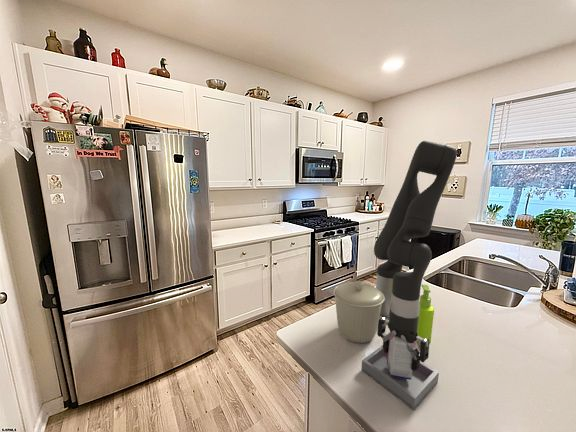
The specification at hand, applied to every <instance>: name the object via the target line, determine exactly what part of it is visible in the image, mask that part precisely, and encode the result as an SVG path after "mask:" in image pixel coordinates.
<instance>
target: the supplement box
mask: <svg viewBox="0 0 576 432" xmlns="http://www.w3.org/2000/svg"><path fill="white" fill-rule="evenodd" d="M406 344H407V343H405V342H403V340H402V339H401V338H399V337H398V336H396V335H395V336H393V335H392V338H390V339H389V347H388V357H387V365H388V369H389V373H390V376H391V377H397V378H403V379H410V380H411V378H412V369H411V365H412V358H413V357H412V355H411V353H410V352H409V351H408V349H407V347H406ZM410 345H411V347H414V348H415V342H413V343H410Z"/></svg>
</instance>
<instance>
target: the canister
mask: <svg viewBox="0 0 576 432" xmlns="http://www.w3.org/2000/svg"><path fill="white" fill-rule="evenodd" d="M332 293H333V295H334V298H335V309H336V311H335V312H336V321H337V327H338V331H339V333H340V334H341V335H342V336H343V338H345V339H346V340H348V341H350V342H353V343H356V344H357V343H358V344H360V343H361V344H363V343H364V344H365V343H368V342H370V341H372V340H373V339H374V337H375V335H377V331H378V323H379V319H380V318H381V317H380V316H381V315H380V312H381V306H382V303H383V302H384V300H385V297H384V295H383V293H382V292H381V291H379V290H378V289H376V286H373V285H371V284H368V283H364V282H363V281H360V280H356V281H348V282H343V283H341V284H337V286H335V287H334V288H333V292H332Z"/></svg>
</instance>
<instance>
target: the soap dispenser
mask: <svg viewBox="0 0 576 432" xmlns="http://www.w3.org/2000/svg"><path fill="white" fill-rule="evenodd" d="M421 287H422V290H423V293H422V295H421V294H420V309H419V319H418V329H417V334H418V336H419V337H421V338H424V339H425V338H428V339H429V345H430V344H431V341H432V333H433V325H434V324H433V323H434V316H435V314H434V313H435V307H434V306H433V305H432V303H431V302H432V297H431V296H430V293H431V289H430V287H429V285H427V284H421ZM416 343H418V341H417V340H416Z"/></svg>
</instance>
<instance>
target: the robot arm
mask: <svg viewBox="0 0 576 432" xmlns="http://www.w3.org/2000/svg"><path fill="white" fill-rule="evenodd" d="M457 154H458V150H457V147H455V146H453V145H448V144H446V143H445V144H443V143H440V142H439V143H438V142H434V141H428V140H422V141H420V143H418V145H417V147H416V149H415V151H414V153H413V156H412V158H411V161H410V164H409V167H408V169H407V172H406V175H405V178H404V180H403V183H402V186H401V188H400V190H399V192H398V194H397V196H396V198H395V200H394V203H393V205H392V207H391V210H390V212H389V215H388V218H387V220H386V222H385V224H384V227H383V228H382V230H381V232H380V233H379V234H378V236H377V238H376V240H375V242H374V245H373V246H374V247H373V253H374V256H375V258H376V259H378V260H382V261H385V262H384V263H382V264H379V265H377V268H376V281H375V288H376V289H378V290H379V291H381V292H382V293H383V295H384V297H385V300H384V302H383V303H382V306H381V312H380V316H382V317H379V322H378V326H377V331H376V335H377V337H380V338H382V345H383V350H384V352H385V353H388V347H389V339H390V338H392V335H393V336H395V335H396V336H398V337H399V338H401V339H402V340H403V342H405V343H407V344H406V347H407V349H408V351H409V352H410V353H411V355H412V357H413V358H412V365H411V369H412V370H413V371H415V370H417V369H418V368H419V366H420V361H421V362H423V363H425V362H426V361H427V360H428V359H429V355H430V354H429V352H430V344H429V339H428V338H425V339H424V338H421V337H419V336H418V334H417V329H418V319H419V309H420V296H421V289H422V288H421V287H422V286H421V285H422V282H423V278H424V276H425V274H426V271H427V269H428V267H429V265H430V263H431V260H432V257H433V254H432V249H431V247H430V246H429V245H428V244H426V243H422V242H415V241H411V240H412V239H416V238H425V237H427V236H429V235H430V234H431V229H432V226H433V222H434V217H435V214H436V210H437V207H438V204H439V202H440V199H441V197H442V195H443V192H444V190H445V188H446V186H447V183H448V181H449V178H450V176H451V174H452V171H453V168H454V165H455V164H456V159H457V156H458V155H457ZM420 172H421V173H425V174H428V175H432V176H436V177H435V179H433V180H434V181H433V182H432V183H431V184H430V185H429V186H428V187H427V188H426V189H424V190H423V191H422V192H420V189H419V183H418V175H419V173H420ZM403 267H406V268H410V269H412V271H403ZM387 317H388V319H387ZM386 328H388V329H389V333H386ZM416 340H417V341H418V342H416ZM413 342H415V348H414V347H411V345H410V343H413ZM419 347H420V348H419Z"/></svg>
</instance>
